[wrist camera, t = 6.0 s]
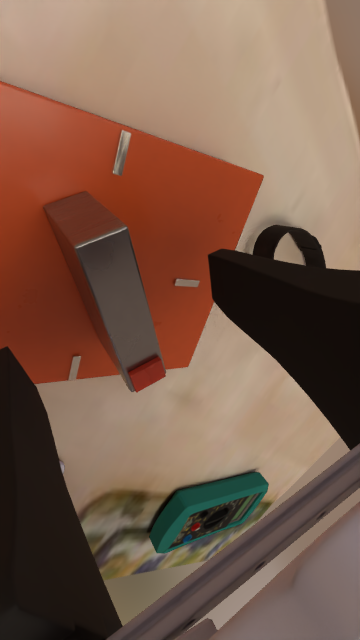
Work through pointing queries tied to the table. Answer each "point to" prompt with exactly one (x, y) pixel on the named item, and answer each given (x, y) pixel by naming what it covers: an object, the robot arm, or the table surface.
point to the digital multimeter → (207, 510)
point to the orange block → (127, 205)
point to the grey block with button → (109, 285)
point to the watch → (304, 240)
